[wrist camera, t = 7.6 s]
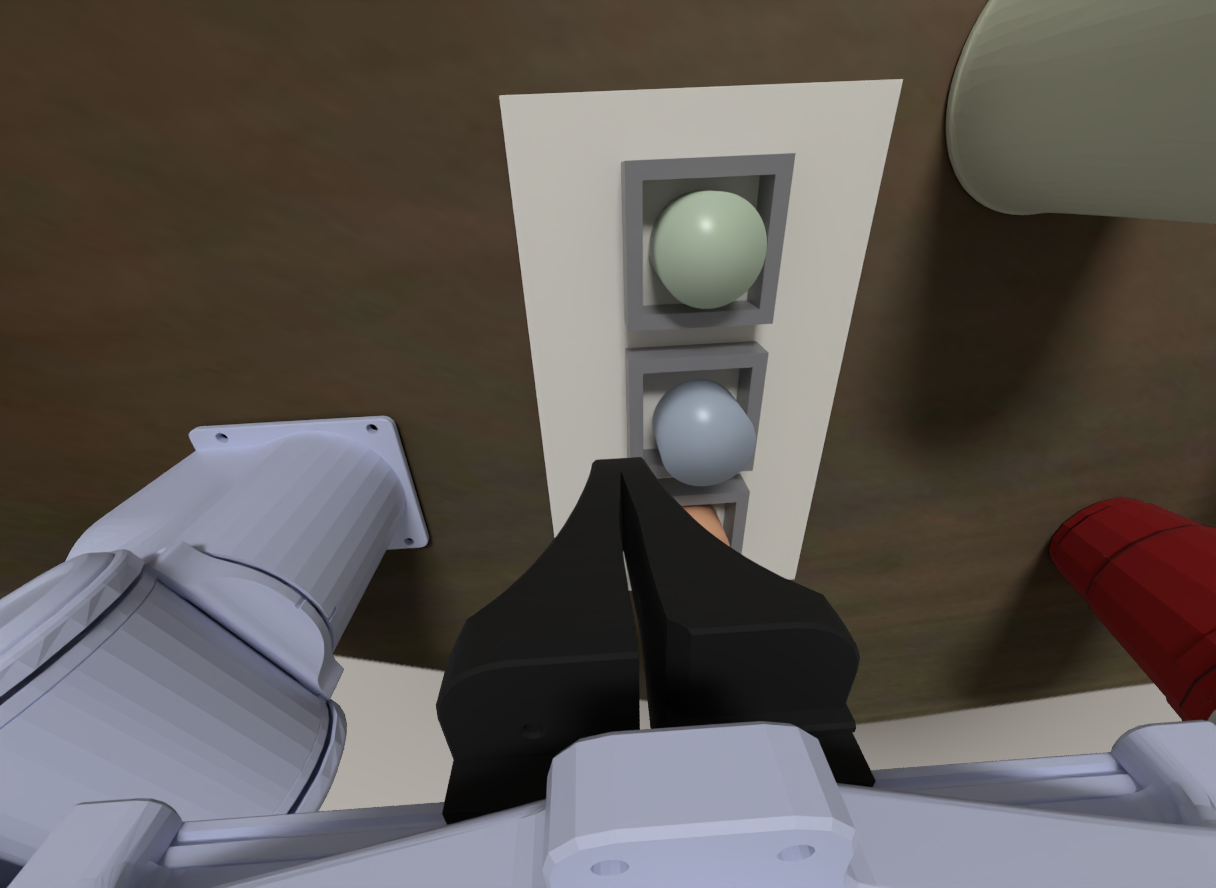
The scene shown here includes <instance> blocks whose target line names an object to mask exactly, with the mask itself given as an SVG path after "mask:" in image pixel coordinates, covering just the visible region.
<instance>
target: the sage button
mask: <svg viewBox="0 0 1216 888" xmlns="http://www.w3.org/2000/svg"><path fill="white" fill-rule="evenodd" d="M766 251H767V236H766V231H765V227H764V224H763V221H762V219H761V217H760V215H759V213H758V212H757V210H756V209H755V208H754V207H753V206H752V205H751V204H750V203H749V202H748V201H747V200H745V199H744V198H742V197H740V196H738V195H736V194H733V193H729V192H722V191H712V190H695V191H690V192H687V193H684V194H682V195H680V196H678V197H677V198H675V199H673V200H672V201H671V202H670V203H669V204H668V205H667V206H666V207H665V208H664V209H663V210H662V211H661V213H660V214H659V216H658V217H657V219H656V221H655V223H654V225H653V228H652V231H651V235H650V240H649V255H650V260H651V264H652V267H653V269H654V271H655V273H656V275H657V276H658V278H659V279H660V280H661V281H662V283H663V284H664V285H665V286H666V288H667V289H668V290H669V291H670V293H671V294H672V295H673V296H674V297H675V298H677V299H678V300H679V301H681V302H682V303H684V304H686V305H688V306H691V307H695V308H700V309H712V308H718V307H722V306H724V305H727V304H729V303H731V302H733V301H735V300H736V299H738V298H739V297H741V296H742V295H743V294H744V293H745V292H746V291H747V290H748V289H749V288H750V287H751V286H752V285H753V283H754V282H755V280H756V279H757V277H758V275H759V274H760V271H761V269H762V267H763V264H764V261H765V256H766Z"/></svg>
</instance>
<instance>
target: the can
mask: <svg viewBox="0 0 1216 888" xmlns="http://www.w3.org/2000/svg"><path fill="white" fill-rule="evenodd" d="M946 141H947V149H948V154H949V159H950V162H951V164H952V167H953V170H954V173H955V175H956V177H957V178H958V180H959V182H960V183H961V185H962V187H963V188H964V189H965V190H966V191H967V193H968V194H969V195H970V196H972V197H973V198H974V199H975V200H976V201H977V202H979V203H980V204H982V205H984V206H985V207H988V208H990V209H992V210H994V211H998V212H1001V213H1006V214H1012V215H1032V214H1039V213H1068V214H1084V215H1100V216H1115V217H1128V218H1142V219H1155V220H1169V221H1182V222H1196V223H1209V224H1216V0H989V1H988V2H987V4H986V6H985V7H984V9H983V10H982V12H981V14H980V15H979V17H978V19H977V21H976V23H975V24H974V26H973V28H972V30H971V32H970V34H969V37H968V39H967V41H966V43H965V45H964V47H963V50H962V53H961V55H960V58H959V61H958V64H957V66H956V69H955V72H954V76H953V79H952V83H951V87H950V92H949V97H948V103H947V112H946Z"/></svg>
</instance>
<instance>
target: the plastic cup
mask: <svg viewBox="0 0 1216 888" xmlns="http://www.w3.org/2000/svg"><path fill="white" fill-rule="evenodd" d="M1048 551H1049V554H1050V557H1051V560H1052V562H1053V563H1054V564H1055V565H1056V567H1057V570H1058V571H1059V572H1060V573H1061V574H1062V576H1063V577H1064V578H1065V579H1066V580H1067V581H1068V582H1069V583H1070V584H1071V585H1072V587H1073V588H1074V589H1075V590H1076V591H1077V592H1078V593H1079V594H1080V595H1081V597H1082V598H1083V599H1084V600H1085V601H1086V602H1087V603H1088V605H1089V608H1090V610H1091V611H1092V612H1093V613H1094V614H1095V615H1096V616H1097V618H1098V619H1099V620H1100V621H1101V622H1102V623H1103V625H1104V626H1105V627H1106V628H1107V629H1108V630H1109V632H1110V633H1111V634H1112V635H1113V636H1114V637H1115V639H1116V640H1117V641H1118V642H1119V643H1120V644H1121V645H1122V647H1123V648H1124V649H1125V650H1126V651H1127V652H1128V654H1129V655H1130V656H1131V657H1132V658H1133V659H1134V661H1135V662H1136V663H1137V664H1138V665H1139V666H1140V668H1141V669H1142V670H1143V671H1144V672H1145V673H1146V674H1147V676H1148V677H1149V678H1150V679H1151V680H1152V681H1153V683H1154V684H1155V685H1156V686H1157V687H1158V688H1159V690H1160V691H1161V692H1162V693H1163V694H1164V695H1165V696H1166V699H1167V702H1168V703H1169V704H1170V706H1171V707H1172V708H1173V709H1174V710H1175V712H1176V713H1177V714H1178V715H1179V717H1180V718H1181V719H1182V721H1194V720H1205V721H1209V722H1212V723H1213V724H1214V725H1215V726H1216V528H1214V527H1210V526H1204V525H1202V524H1199V523H1197V522H1195V521H1192V520H1190V519H1187V518H1185V517H1182V516H1180V515H1178V514H1175V513H1173V512H1170V511H1168V510H1165V509H1163V508H1161V507H1158V506H1156V505H1153V504H1151V503H1144V502H1141V501H1139V500H1136V499H1128V498H1115V499H1111V500H1106V501H1101V502H1098V503H1096V504H1094V505H1092V506H1090V507H1088V508H1085V509H1083V510H1081V511H1080V512H1078V513H1077V514H1076V515H1074V516H1073V517H1072V518H1070V519H1069V520H1068V521H1066V522H1065V523H1064V524H1063V525H1062V526H1061V527H1060V529H1059V530H1058V531H1057V532H1056V534H1055V535H1054V536H1053V537H1052V541H1051V544H1050V547H1049V550H1048Z"/></svg>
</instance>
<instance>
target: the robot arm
mask: <svg viewBox="0 0 1216 888" xmlns="http://www.w3.org/2000/svg"><path fill="white" fill-rule="evenodd" d="M370 424H373V425H375V426H376V427H377V428H378V430H373V429H372V428H371V427H370ZM221 433H222V434H224V435H226V436H227V438H228V439H227V438H225V437H223V435H222V434H221ZM189 438H190V440H191V442H192V444H193V446H194V448H195V449H196V451H195V452H194V453H192V454H191V455H189V456H188V457H187V458H185V459H184V460H182V461H181V462H179V463H178V464H177V465H175V466H174V467H172V468H171V469H170V470H168V471H167V472H165V473H164V474H163V475H161V476H160V477H158V478H157V479H156V480H154V481H153V482H151V483H150V484H149V485H147V486H146V487H144V488H143V489H142V490H140V491H139V492H137V493H136V494H134V495H133V496H132V497H130V498H129V499H127V500H126V501H125V502H123V503H122V504H120V505H119V506H118V507H116V508H115V509H113V510H112V511H111V512H109V513H108V514H106V515H105V516H104V517H102V518H101V519H99V520H98V521H97V522H95V523H94V524H93V525H92V526H91V527H90V528H89V529H87V530H86V531H85V532H84V534H83V535H82V536H81V537H80V538H79V539H78V541H77V542H76V543H75V545H74V546H73V548H72V550H71V551H70V553H69V555H68V557H67V559H66V561H65V562H63V563H62V564H60V565H58V566H56V567H54V568H52V569H50V570H49V571H47V572H45V573H43V574H42V575H40V576H38V577H37V578H35V579H33V580H31V581H30V582H28V583H26V584H25V585H23V586H22V587H20V588H18V589H17V590H15V591H13V592H12V593H10V594H9V595H7V596H5V597H4V598H2V599H1V600H0V888H1216V726H1215V725H1214V724H1213V723H1212V722H1209V721H1205V720H1194V721H1181V722H1168V723H1154V724H1146V725H1141V726H1137V727H1135V728H1133V729H1130V730H1128V731H1127V732H1125V733H1124V734H1123V735H1122V736H1121V737H1120V738H1119V739H1118V740H1117V741H1116V742H1115V744H1114V745H1113V747H1112V750H1111V752H1108V753H1095V754H1081V755H1070V756H1069V755H1068V756H1055V757H1041V758H1028V759H1014V760H1001V761H988V762H975V763H961V764H948V765H935V766H921V767H909V768H908V767H907V768H894V769H881V770H870V768H869V766H868V764H867V762H866V760H865V758H864V756H863V754H862V752H861V749H860V747H859V745H858V743H857V741H856V739H855V737H854V735H853V733H852V732H855V729H856V724H855V721H854V719H853V717H852V715H851V713H850V711H849V709H848V707H847V705H846V701H847V699H848V696H849V693H850V690H851V687H852V685H853V682H854V679H855V676H856V673H857V671H858V666H859V660H860V655H859V652H858V648H857V645H856V643H855V641H854V640H853V638H852V636H851V635H850V633H849V631H848V629H847V628H846V626H845V625H844V623H843V622H842V620H841V619H840V617H839V616H838V614H837V613H836V611H835V610H834V609H833V608H832V606H831V605H830V604H829V602H828V601H827V600H826V598H825V597H824V595H822V594H820V593H818V592H815V591H813V590H811V589H809V588H806V587H804V586H802V585H799V584H797V583H795V582H793V581H790V580H788V579H786V578H784V577H781V576H779V575H778V574H776V573H774V572H772V571H770V570H768V569H766V568H764V567H762V566H760V565H759V564H757V563H755V562H753V561H752V560H750V559H748V558H747V557H745V556H743V555H742V554H740V553H739V552H737V551H736V550H734V549H733V548H731V547H730V546H728V545H727V544H725V543H724V542H722V541H721V540H719V539H718V538H717V537H715V536H714V535H713V534H712V533H710V532H709V531H708V530H707V529H705V528H704V527H703V526H702V525H701V524H700V523H698V522H697V521H696V520H695V519H694V518H693V517H692V516H691V515H690V514H689V513H688V512H687V511H686V510H685V509H684V508H683V507H682V506H681V505H680V504H679V503H678V502H677V501H676V500H675V499H674V498H673V496H672V495H671V494H670V493H669V492H668V491H667V490H666V488H665V487H664V486H663V485H662V484H661V482H660V481H659V480H658V479H657V477H656V476H655V475H654V473H653V472H652V470H651V469H650V468H649V466H648V465H647V463H646V461H645V460H644V459H643V458H642V457H633V458H616V459H599V460H595V461H594V462H593V463H592V467H591V471H590V474H589V477H588V480H587V483H586V485H585V487H584V490H583V492H582V494H581V496H580V498H579V500H578V502H577V504H576V506H575V508H574V509H573V511H572V513H571V514H570V516H569V518H568V519H567V521H566V523H565V524H564V526H563V527H562V529H561V530H560V532H559V533H558V535H557V536H556V537H555V539H554V540H553V541H552V543H551V544H550V545H549V546H548V548H547V549H546V550H545V551H544V552H543V554H542V555H541V556H540V557H539V558H538V559H537V561H536V562H535V563H534V564H533V565H532V566H531V567H530V568H529V569H528V570H527V571H526V572H525V573H524V574H523V575H522V576H521V577H520V578H519V579H518V580H517V581H516V582H514V583H513V584H512V585H511V586H510V587H509V588H508V589H507V590H506V591H505V592H504V593H502V594H501V595H500V596H499V597H497V598H496V599H495V600H493V601H492V602H491V603H489V604H488V605H487V606H485V607H484V608H482V609H481V610H480V611H478V612H477V613H476V614H474V615H473V616H471V617H470V618H468V619H467V620H466V622H465V624H464V626H463V628H462V630H461V632H460V634H459V637H458V639H457V641H456V643H455V646H454V648H453V650H452V653H451V655H450V658H449V660H448V663H447V666H446V669H445V673H444V677H443V681H442V684H441V688H440V692H439V696H438V700H437V703H436V709H437V715H438V720H439V722H440V725H441V728H442V730H443V733H444V736H445V738H446V741H447V744H448V746H449V749H450V751H451V754H452V757H453V759H454V761H453V766H452V770H451V775H450V779H449V784H448V789H447V793H446V798H445V802H440V803H427V804H414V805H399V806H386V807H373V808H361V809H360V808H359V809H348V810H333V811H319V809H320V807H321V806H322V804H323V802H324V800H325V798H326V796H327V794H328V792H329V790H330V788H331V785H332V783H333V781H334V778H335V775H336V773H337V770H338V766H339V763H340V760H341V757H342V753H343V750H344V745H345V740H346V732H347V729H346V727H347V723H346V718H345V714H344V712H343V710H342V709H341V707H340V706H339V705H338V704H337V703H336V702H334V701H333V700H331V699H330V698H331V696H332V694H333V691H334V690H335V687H336V685H337V683H338V681H339V679H340V677H341V675H342V673H343V670H344V669H343V667H342V666H341V665H340V664H339V663H337V661H336V660H335V658H334V656H333V652H334V650H335V648H336V646H337V644H338V642H339V640H340V638H341V636H342V635H343V633H344V631H345V629H346V627H347V625H348V623H349V621H350V619H351V617H352V615H353V613H354V611H355V609H356V608H357V606H358V604H359V602H360V600H361V598H362V596H363V594H364V592H365V590H366V588H367V586H368V584H369V582H370V581H371V579H372V577H373V575H374V573H375V571H376V569H377V567H378V565H379V563H380V561H381V559H382V557H383V555H384V554H385V552H386V550H389V549H404V548H420V547H424V546H426V545H427V543H428V541H429V534H428V531H427V528H426V524H425V521H424V518H423V514H422V511H421V507H420V504H419V501H418V497H417V494H416V491H415V487H414V484H413V481H412V477H411V474H410V470H409V467H408V464H407V460H406V457H405V454H404V450H403V447H402V444H401V440H400V437H399V433H398V430H397V427H396V424H395V422H394V421H393V420H392V419H391V418H389V417H387V416H370V417H353V418H336V419H319V420H302V421H285V422H268V423H251V424H234V425H217V426H200V427H196V428H195V429H193V430H192V431H191V432H190V433H189ZM407 538H411V539H412V540H413V541H411V540H408V539H407ZM623 551H624V556H625V561H626V566H627V570H628V575H629V580H630V585H631V589H632V594H633V599H634V603H635V608H636V613H637V618H638V623H639V629H640V635H641V643H642V652H643V661H644V670H645V680H646V689H647V698H648V708H649V717H650V727H651V729H644V730H640V718H639V717H640V715H639V653H638V644H637V635H636V627H635V621H634V616H633V611H632V606H631V600H630V595H629V589H628V583H627V576H626V570H625V564H624V556H623ZM318 811H319V812H318Z"/></svg>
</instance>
